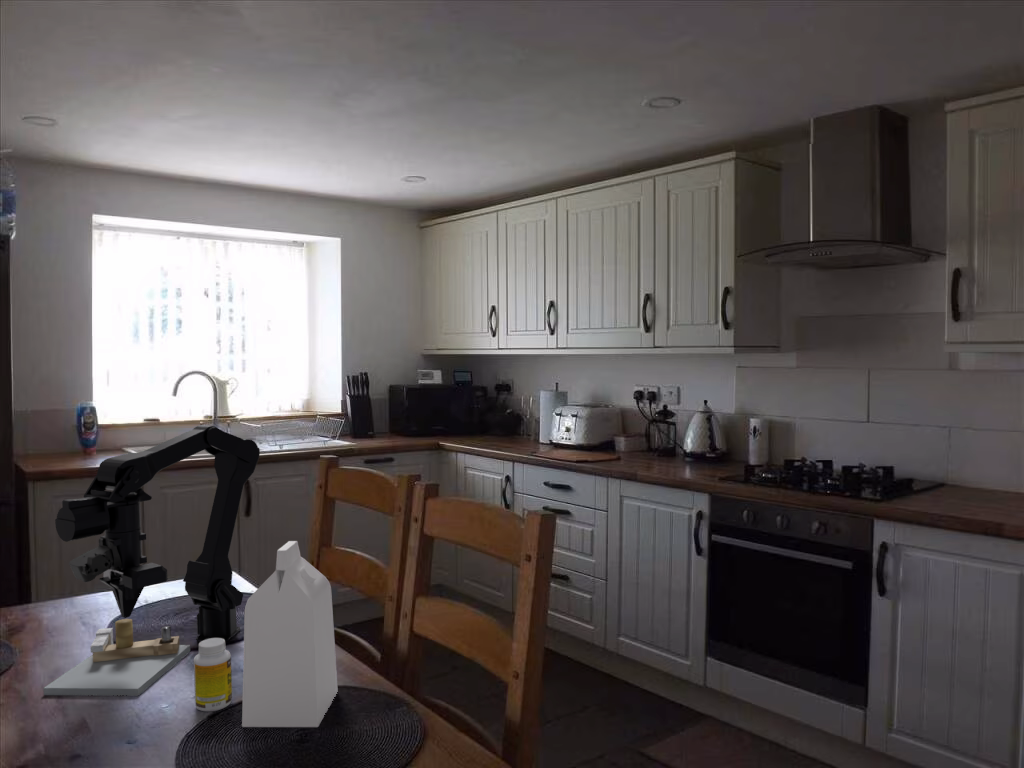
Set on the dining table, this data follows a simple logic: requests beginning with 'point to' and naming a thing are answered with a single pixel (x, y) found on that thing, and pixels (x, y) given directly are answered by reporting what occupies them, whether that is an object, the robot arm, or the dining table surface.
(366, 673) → the dining table surface
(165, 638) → the peg
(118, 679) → the board
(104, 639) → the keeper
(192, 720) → the dining table surface
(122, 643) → the latch bar
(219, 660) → the supplement bottle
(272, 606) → the milk
